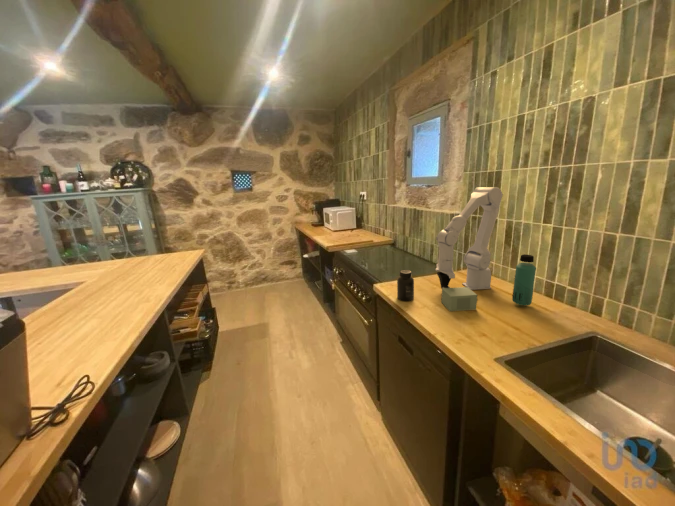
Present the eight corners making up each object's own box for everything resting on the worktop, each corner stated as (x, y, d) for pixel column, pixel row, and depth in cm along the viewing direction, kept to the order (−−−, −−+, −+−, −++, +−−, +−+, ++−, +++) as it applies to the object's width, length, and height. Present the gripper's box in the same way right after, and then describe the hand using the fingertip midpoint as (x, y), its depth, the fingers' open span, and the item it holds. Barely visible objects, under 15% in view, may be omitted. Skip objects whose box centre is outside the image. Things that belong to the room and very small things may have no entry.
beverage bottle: (532, 304, 106) (539, 254, 101) (529, 311, 102) (536, 258, 97) (513, 300, 111) (519, 252, 106) (509, 306, 106) (515, 255, 101)
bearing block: (465, 300, 112) (466, 286, 111) (476, 309, 105) (477, 294, 103) (441, 302, 112) (442, 288, 111) (449, 311, 104) (450, 296, 103)
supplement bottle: (414, 295, 120) (415, 269, 117) (413, 302, 113) (413, 274, 110) (398, 294, 122) (398, 268, 119) (396, 300, 116) (396, 273, 113)
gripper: (430, 254, 125) (429, 283, 128) (443, 264, 110) (441, 295, 114) (445, 253, 125) (444, 282, 128) (460, 263, 111) (458, 294, 114)
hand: (444, 288), depth 121 cm, fingers closed
